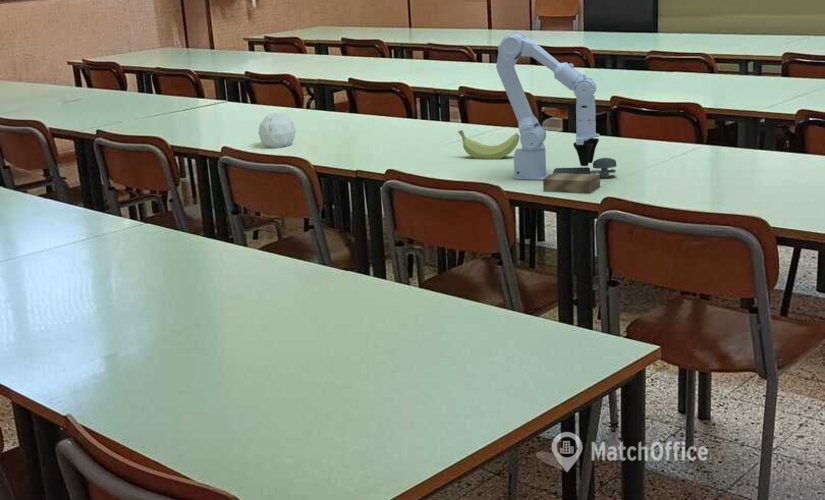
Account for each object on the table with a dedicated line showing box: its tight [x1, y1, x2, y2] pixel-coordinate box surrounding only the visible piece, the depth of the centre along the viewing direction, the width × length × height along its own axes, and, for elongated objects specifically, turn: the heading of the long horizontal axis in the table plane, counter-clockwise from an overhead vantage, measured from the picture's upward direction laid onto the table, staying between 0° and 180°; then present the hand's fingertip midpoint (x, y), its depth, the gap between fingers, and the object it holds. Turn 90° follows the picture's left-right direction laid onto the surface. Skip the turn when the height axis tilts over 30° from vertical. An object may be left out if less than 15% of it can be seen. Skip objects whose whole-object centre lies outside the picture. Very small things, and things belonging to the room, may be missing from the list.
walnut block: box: [542, 172, 601, 195], centre depth 308 cm, size 14×9×4 cm, turn 61°
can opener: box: [552, 157, 617, 178], centre depth 322 cm, size 19×5×6 cm, turn 77°
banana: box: [457, 129, 520, 160], centre depth 357 cm, size 14×6×20 cm
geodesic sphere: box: [258, 112, 297, 149], centre depth 402 cm, size 15×14×14 cm
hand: (586, 164), depth 321 cm, fingers open, 4 cm apart
